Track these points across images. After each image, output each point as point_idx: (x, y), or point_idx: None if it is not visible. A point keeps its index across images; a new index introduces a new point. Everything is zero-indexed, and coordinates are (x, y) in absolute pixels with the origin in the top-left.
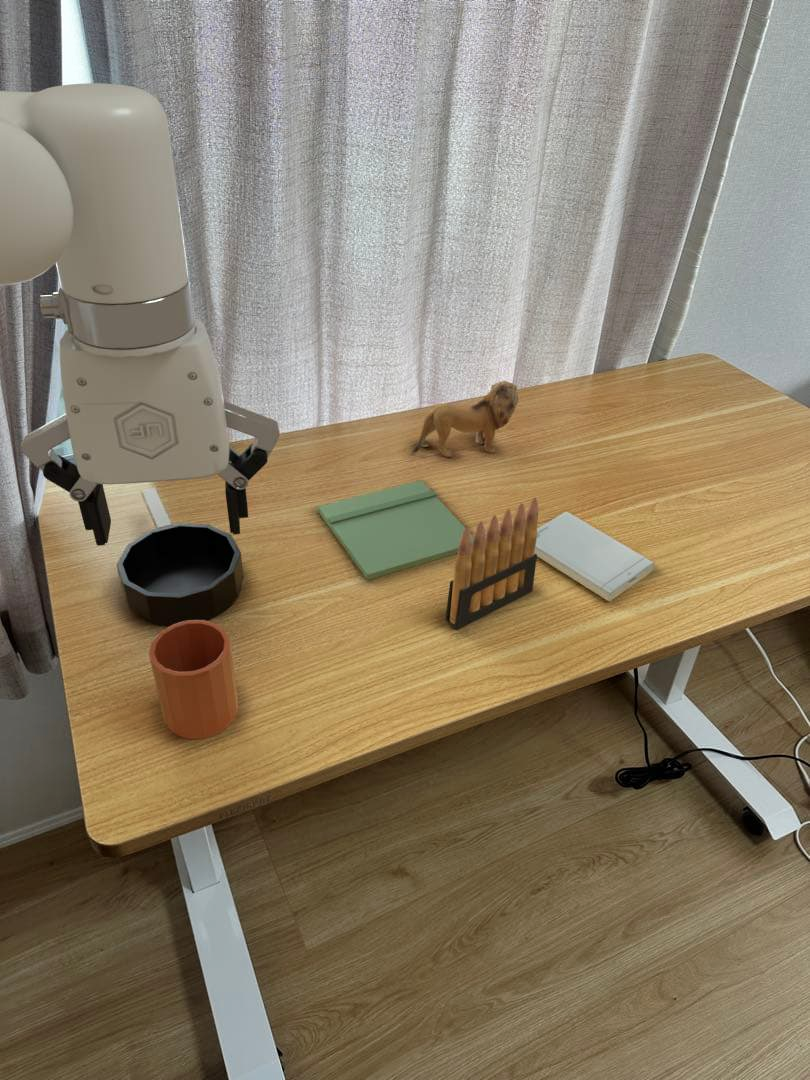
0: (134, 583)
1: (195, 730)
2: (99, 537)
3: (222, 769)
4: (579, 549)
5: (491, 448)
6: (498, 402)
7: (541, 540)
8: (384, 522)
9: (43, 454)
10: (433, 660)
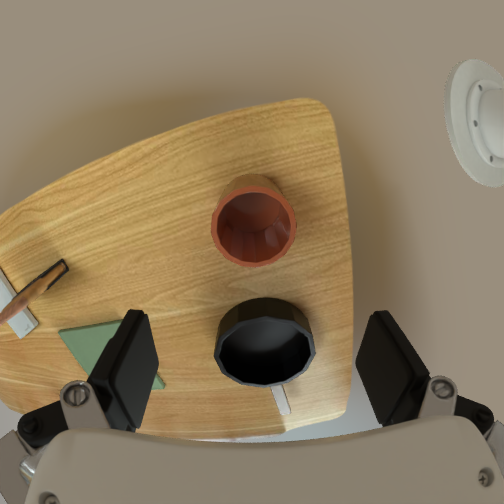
0: (301, 341)
1: (256, 175)
2: (387, 319)
3: (235, 140)
4: None
5: None
6: None
7: (25, 321)
8: None
9: (498, 446)
10: (74, 231)
